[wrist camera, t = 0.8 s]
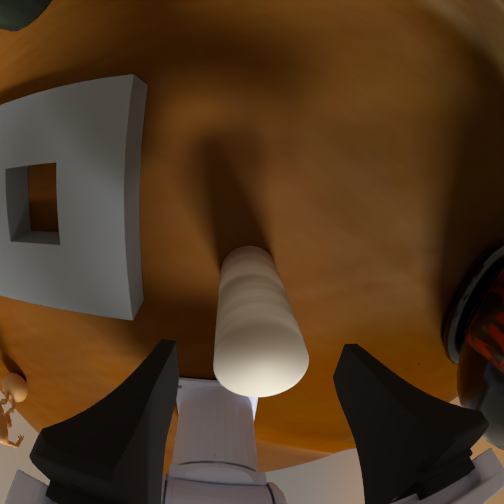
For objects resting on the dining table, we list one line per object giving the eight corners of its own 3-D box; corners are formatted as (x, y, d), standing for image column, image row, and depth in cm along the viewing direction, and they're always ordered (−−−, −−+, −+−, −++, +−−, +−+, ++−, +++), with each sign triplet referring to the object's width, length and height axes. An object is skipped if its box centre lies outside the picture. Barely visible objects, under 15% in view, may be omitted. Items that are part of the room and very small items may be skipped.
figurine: (-2, 352, 22) (-45, 409, 11) (21, 355, 22) (-25, 421, 11) (28, 398, 25) (-3, 455, 14) (54, 403, 25) (23, 468, 14)
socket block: (143, 300, 20) (132, 320, 18) (7, 279, 19) (-10, 292, 16) (147, 85, 15) (133, 74, 12) (-3, 115, 14) (-24, 115, 11)
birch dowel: (272, 297, 21) (299, 396, 12) (219, 294, 21) (213, 395, 11) (278, 247, 20) (317, 329, 10) (222, 243, 19) (214, 326, 10)
